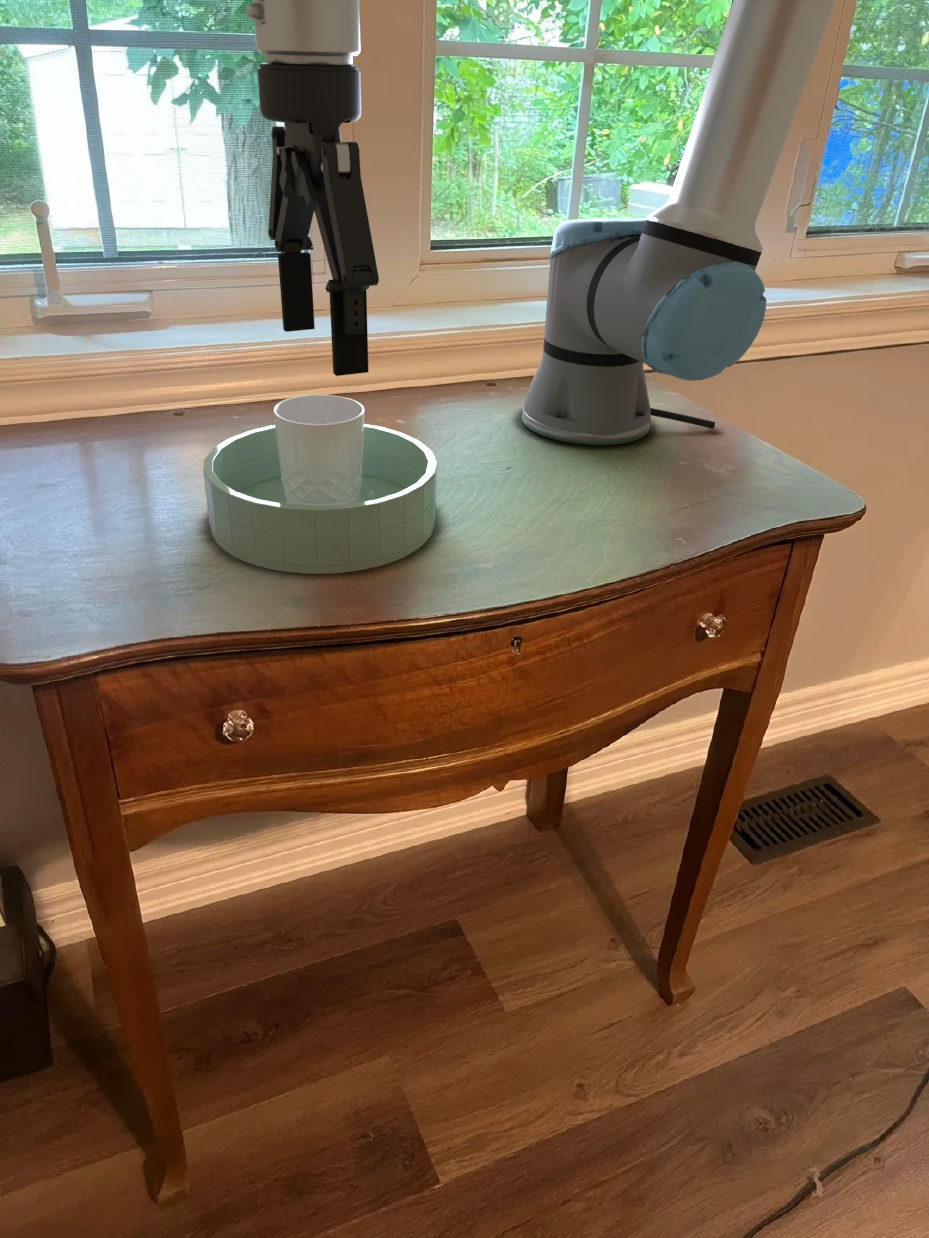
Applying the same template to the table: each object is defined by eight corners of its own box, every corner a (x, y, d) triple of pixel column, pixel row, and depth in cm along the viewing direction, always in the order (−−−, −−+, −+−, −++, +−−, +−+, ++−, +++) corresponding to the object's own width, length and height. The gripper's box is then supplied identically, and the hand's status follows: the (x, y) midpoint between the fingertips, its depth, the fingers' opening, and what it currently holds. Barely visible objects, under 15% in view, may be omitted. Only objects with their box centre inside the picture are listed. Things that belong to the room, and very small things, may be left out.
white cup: (351, 536, 83) (348, 429, 78) (267, 525, 85) (259, 419, 79) (376, 501, 90) (375, 399, 85) (297, 491, 91) (292, 390, 86)
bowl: (415, 473, 98) (416, 417, 95) (453, 566, 81) (456, 502, 78) (212, 481, 94) (206, 424, 91) (207, 581, 77) (200, 515, 74)
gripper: (216, 53, 77) (241, 317, 88) (312, 66, 58) (329, 400, 69) (305, 55, 80) (318, 311, 91) (424, 68, 61) (422, 389, 72)
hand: (323, 350), depth 80 cm, fingers open, 13 cm apart
